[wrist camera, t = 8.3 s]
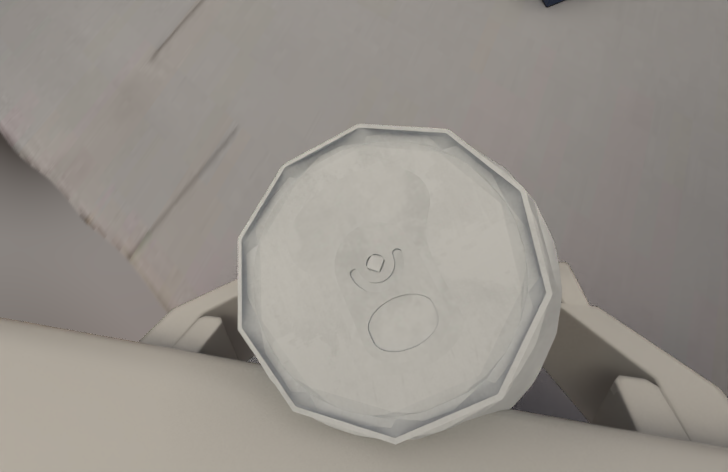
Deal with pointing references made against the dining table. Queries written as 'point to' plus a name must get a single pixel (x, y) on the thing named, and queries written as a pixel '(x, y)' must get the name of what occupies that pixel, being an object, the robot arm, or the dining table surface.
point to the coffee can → (398, 283)
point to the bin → (551, 2)
